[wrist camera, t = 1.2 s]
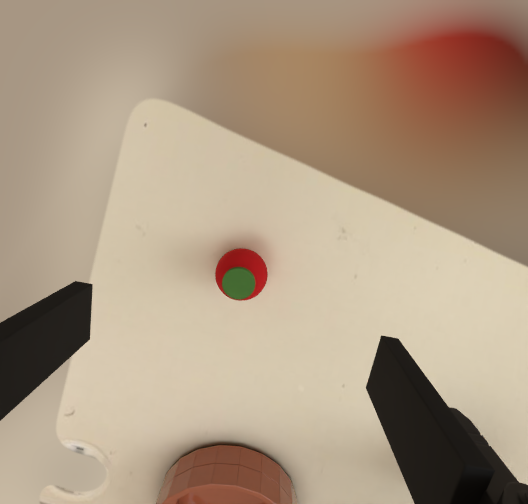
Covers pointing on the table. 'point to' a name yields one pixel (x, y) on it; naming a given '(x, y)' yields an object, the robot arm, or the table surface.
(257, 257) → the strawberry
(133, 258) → the table surface
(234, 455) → the bowl
